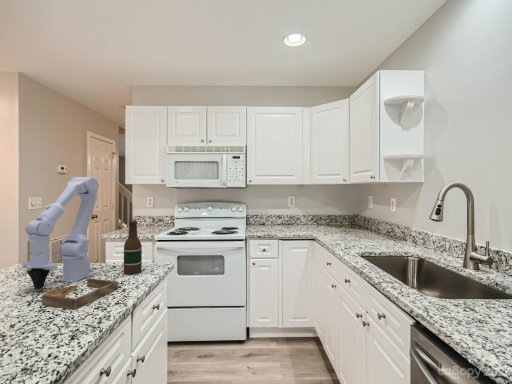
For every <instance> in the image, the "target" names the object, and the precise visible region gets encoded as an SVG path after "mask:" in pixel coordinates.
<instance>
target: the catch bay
mask: <svg viewBox="0 0 512 384" xmlns="http://www.w3.org/2000/svg"><path fill="white" fill-rule="evenodd" d="M86 287H87V288H94V289H95V290H93V291H91V292H88V293H86V294H83V295H80V296H79V297H76V298H74V297H65V296H63V297H59V296H52V295H43V294H42V295H41V304H42V305H43V306H47V307H54V308H61V309H67V310H78V309H80V308H82V307H84V306H86V305H89V304H91V303H92V302H95V301H96V300H99V299H101V298H103V297H105V296H107V295H109V294H111V293H113V292H115V291H117V290H119V281H117V280H109V279H108V280H107V279H101V278H99V279H97V278H91V277H90V278H86Z"/></svg>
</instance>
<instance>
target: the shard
mask: <svg viewBox="0 0 512 384" xmlns="http://www.w3.org/2000/svg"><path fill="white" fill-rule="evenodd" d="M78 286H79V284H75V285H72V286H71V285H70V286H65V287H60V288H56V289H51V290H48V291H45V292H43V294H42V296H43V295H52V296H59V297H65V296H66V295H68V294H70V293H71V292H73V291H74V290H76V289H77V288H78Z"/></svg>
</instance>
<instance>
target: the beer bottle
mask: <svg viewBox="0 0 512 384" xmlns="http://www.w3.org/2000/svg"><path fill="white" fill-rule="evenodd" d="M128 225H129V226H128V236H127V238H126V241H125V242H124V244H123V274H124V275H127V276H133V275H138V274H140V273H142V265H143V264H142V263H143V262H142V259H143V257H142V256H143V255H142V253H143V252H142V250H143V249H142V247H143V246H142V243H141V241H140V239H139V235H138V226H137V225H138V221H137V220H136V219H135V220H129V221H128Z"/></svg>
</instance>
